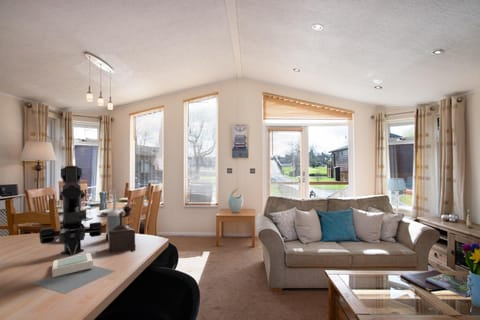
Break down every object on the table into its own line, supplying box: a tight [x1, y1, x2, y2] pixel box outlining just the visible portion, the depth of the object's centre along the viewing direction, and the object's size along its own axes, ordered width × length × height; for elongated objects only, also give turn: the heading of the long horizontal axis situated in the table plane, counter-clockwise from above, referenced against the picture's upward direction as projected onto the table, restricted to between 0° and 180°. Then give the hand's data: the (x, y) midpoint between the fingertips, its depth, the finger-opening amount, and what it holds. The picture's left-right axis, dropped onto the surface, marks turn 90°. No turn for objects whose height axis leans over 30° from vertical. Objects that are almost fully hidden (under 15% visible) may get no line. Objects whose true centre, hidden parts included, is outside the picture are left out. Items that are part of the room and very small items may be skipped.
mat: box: [31, 265, 116, 295], centre depth 92 cm, size 17×18×1 cm
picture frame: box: [51, 252, 94, 277], centre depth 100 cm, size 3×12×13 cm
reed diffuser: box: [105, 189, 122, 242], centre depth 139 cm, size 8×8×25 cm
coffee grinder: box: [107, 205, 136, 254], centre depth 125 cm, size 16×11×18 cm
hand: (72, 254), depth 93 cm, fingers closed
